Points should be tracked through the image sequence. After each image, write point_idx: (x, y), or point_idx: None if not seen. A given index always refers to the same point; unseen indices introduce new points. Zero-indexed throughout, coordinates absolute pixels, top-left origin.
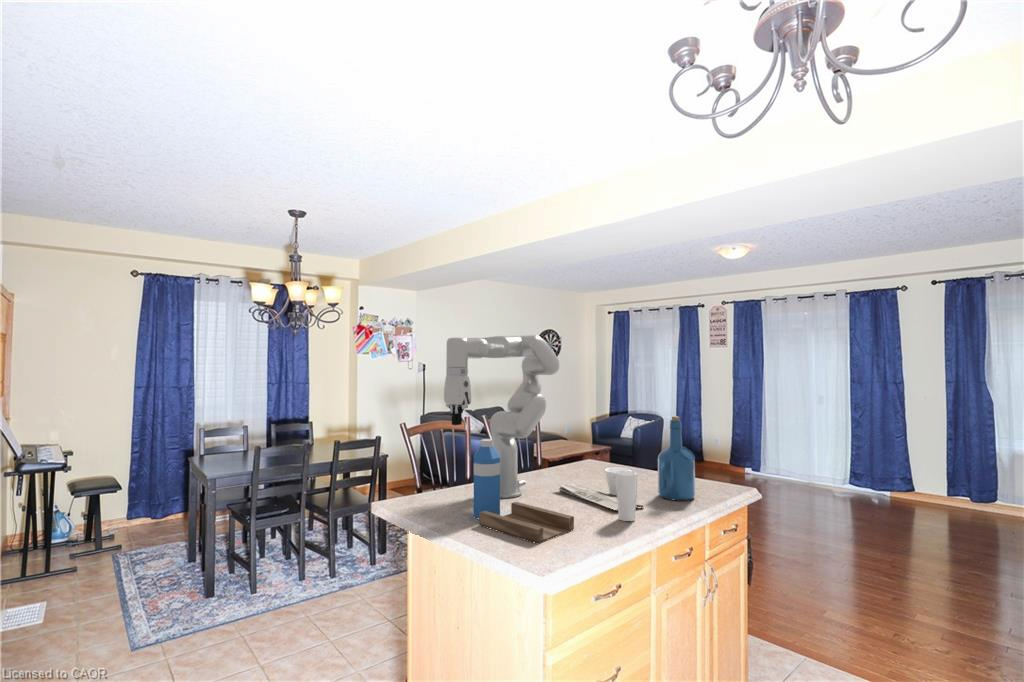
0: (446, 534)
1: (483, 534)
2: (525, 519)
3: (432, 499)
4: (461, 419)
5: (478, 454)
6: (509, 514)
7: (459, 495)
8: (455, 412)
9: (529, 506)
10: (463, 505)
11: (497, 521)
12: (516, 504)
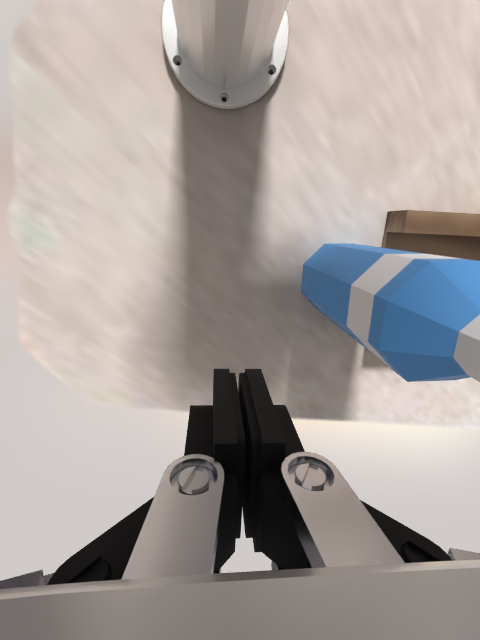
0: (344, 415)
1: None
2: (442, 248)
3: (99, 267)
4: (268, 393)
5: (440, 379)
6: (387, 242)
7: (119, 173)
8: (276, 556)
9: (464, 225)
10: (219, 250)
11: None
12: (423, 233)
